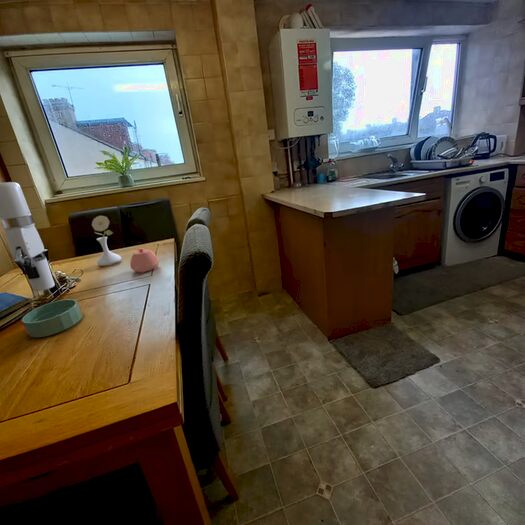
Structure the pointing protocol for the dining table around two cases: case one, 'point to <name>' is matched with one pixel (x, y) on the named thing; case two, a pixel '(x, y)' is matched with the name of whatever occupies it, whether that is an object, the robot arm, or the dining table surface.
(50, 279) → the white cup
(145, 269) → the sugar bowl
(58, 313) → the teal pet bowl
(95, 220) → the flower in vase
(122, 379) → the dining table surface
